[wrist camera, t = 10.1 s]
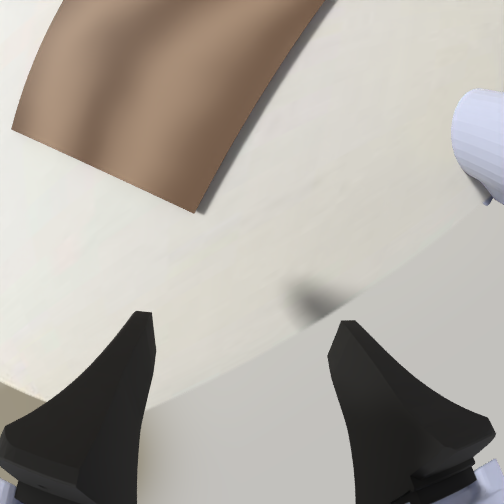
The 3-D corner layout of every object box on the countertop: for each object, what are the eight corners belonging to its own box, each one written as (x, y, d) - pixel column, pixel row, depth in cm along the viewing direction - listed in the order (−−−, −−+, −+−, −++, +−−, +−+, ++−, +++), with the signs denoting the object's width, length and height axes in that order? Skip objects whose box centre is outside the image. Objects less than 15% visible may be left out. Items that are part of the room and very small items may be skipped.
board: (344, -28, 12) (348, -31, 11) (195, 209, 19) (194, 213, 18) (146, -100, 7) (144, -104, 7) (16, 127, 14) (11, 129, 14)
